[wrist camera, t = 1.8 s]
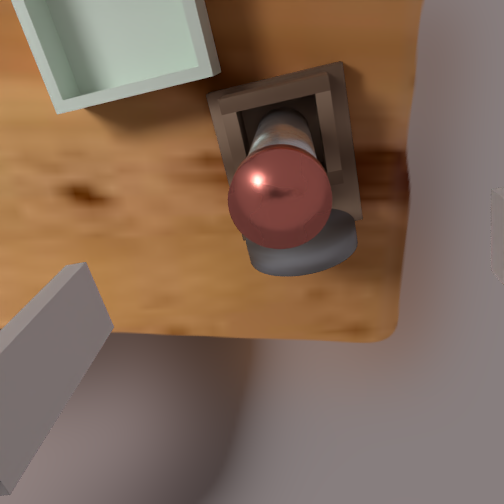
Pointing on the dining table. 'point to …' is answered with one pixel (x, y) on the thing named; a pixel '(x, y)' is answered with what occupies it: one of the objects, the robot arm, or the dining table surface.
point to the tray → (116, 47)
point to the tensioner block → (326, 149)
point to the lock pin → (280, 184)
